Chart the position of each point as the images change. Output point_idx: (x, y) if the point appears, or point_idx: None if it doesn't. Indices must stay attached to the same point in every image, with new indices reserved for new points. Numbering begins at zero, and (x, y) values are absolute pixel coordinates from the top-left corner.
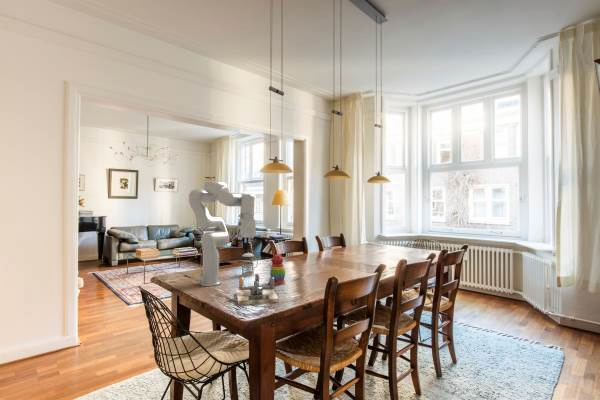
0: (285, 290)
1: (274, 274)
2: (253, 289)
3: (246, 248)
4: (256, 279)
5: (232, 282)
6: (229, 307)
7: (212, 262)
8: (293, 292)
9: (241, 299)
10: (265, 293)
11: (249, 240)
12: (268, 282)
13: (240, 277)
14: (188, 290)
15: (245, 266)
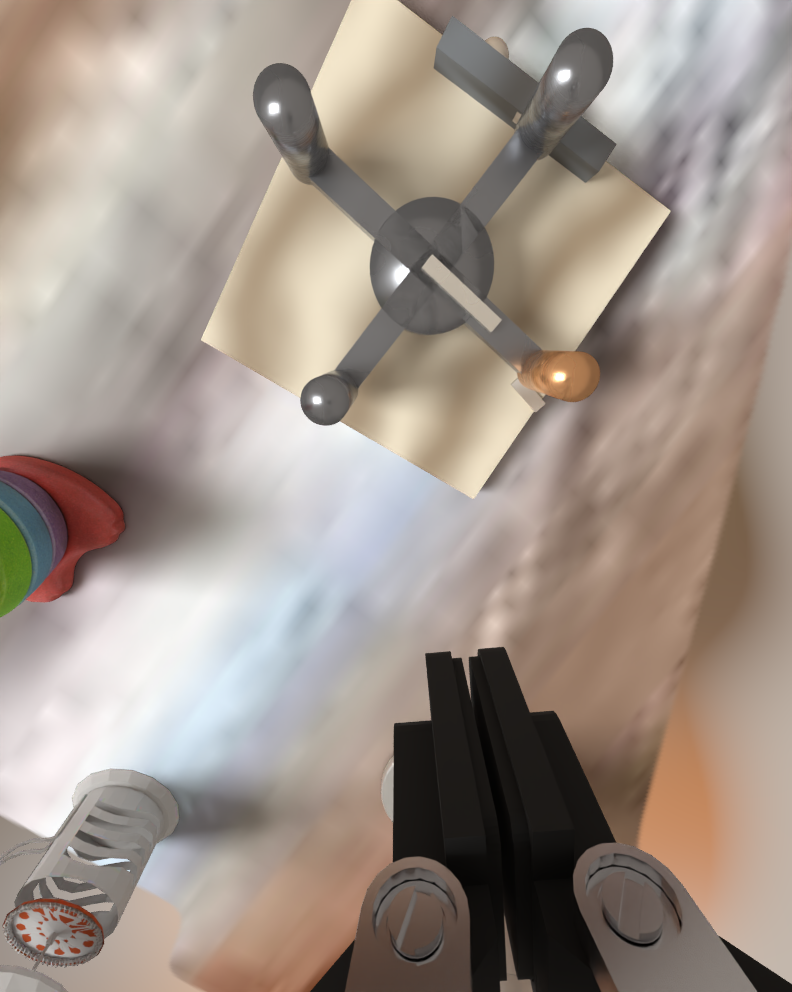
0: (93, 283)
1: (18, 522)
2: (488, 243)
3: (507, 670)
4: (349, 384)
5: (318, 729)
6: (735, 216)
7: (505, 933)
8: (63, 171)
9: (626, 226)
10: (357, 229)
11: (390, 977)
12: (110, 541)
13: (570, 397)
14: (640, 738)
15: (116, 874)
